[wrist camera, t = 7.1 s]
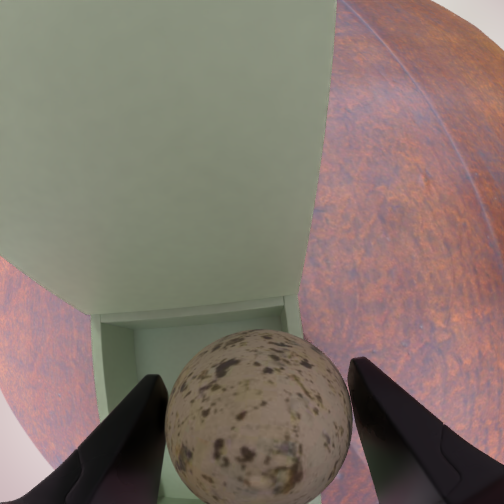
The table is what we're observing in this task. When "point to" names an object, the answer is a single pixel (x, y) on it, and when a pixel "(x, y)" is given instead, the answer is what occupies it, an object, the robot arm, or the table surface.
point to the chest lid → (161, 147)
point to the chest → (174, 354)
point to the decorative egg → (258, 420)
